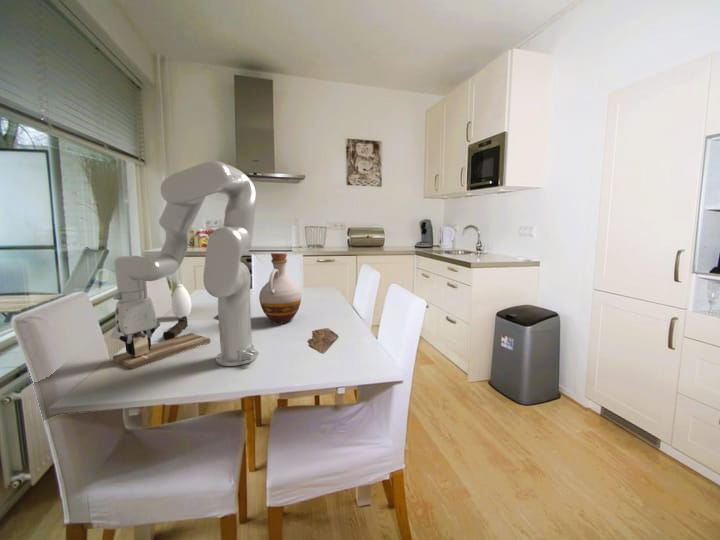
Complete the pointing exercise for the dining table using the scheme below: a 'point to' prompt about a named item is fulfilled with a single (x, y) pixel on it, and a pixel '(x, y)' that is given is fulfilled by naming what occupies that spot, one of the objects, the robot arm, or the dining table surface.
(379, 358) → the dining table surface
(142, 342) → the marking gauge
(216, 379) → the dining table surface
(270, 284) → the jug
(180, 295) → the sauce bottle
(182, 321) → the hand tool
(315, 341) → the wooden fragment
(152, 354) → the board
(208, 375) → the dining table surface
